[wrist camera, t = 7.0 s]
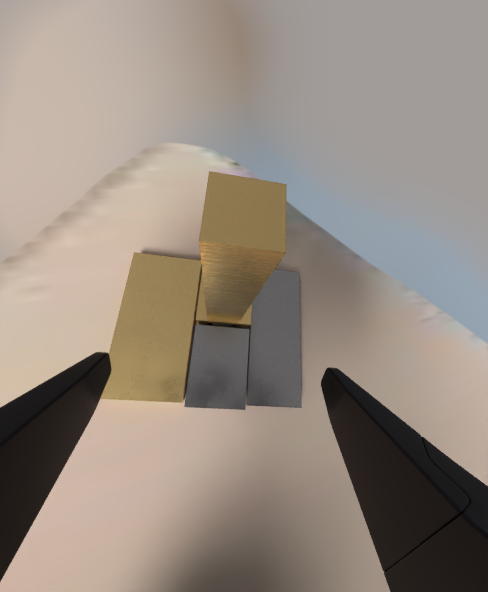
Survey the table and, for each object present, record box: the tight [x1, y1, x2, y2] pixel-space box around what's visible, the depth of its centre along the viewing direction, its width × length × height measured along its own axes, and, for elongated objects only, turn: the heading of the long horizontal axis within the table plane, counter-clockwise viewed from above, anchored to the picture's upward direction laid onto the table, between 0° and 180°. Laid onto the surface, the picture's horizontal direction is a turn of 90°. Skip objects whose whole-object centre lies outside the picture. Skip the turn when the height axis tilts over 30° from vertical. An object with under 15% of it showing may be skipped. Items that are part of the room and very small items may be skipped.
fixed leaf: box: [185, 269, 301, 410], centre depth 19 cm, size 15×9×3 cm, turn 176°
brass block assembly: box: [100, 171, 286, 403], centre depth 13 cm, size 12×11×14 cm
